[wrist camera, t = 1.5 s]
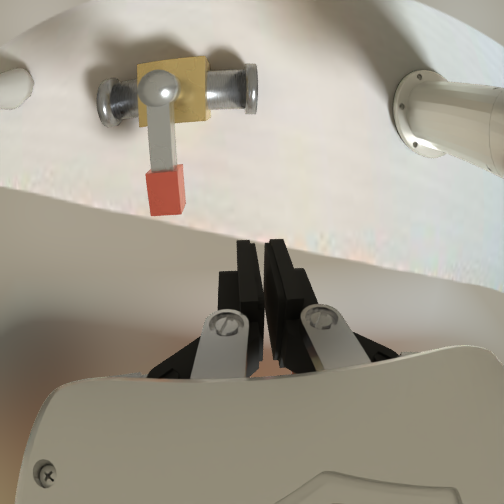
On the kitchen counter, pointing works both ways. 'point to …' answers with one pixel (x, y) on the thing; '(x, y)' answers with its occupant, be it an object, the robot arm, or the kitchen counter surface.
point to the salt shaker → (15, 88)
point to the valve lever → (162, 143)
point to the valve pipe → (182, 91)
